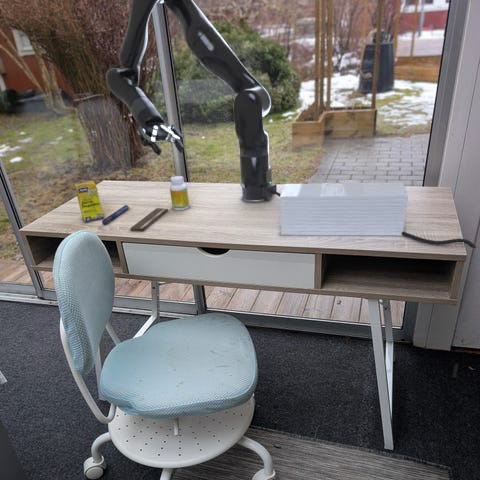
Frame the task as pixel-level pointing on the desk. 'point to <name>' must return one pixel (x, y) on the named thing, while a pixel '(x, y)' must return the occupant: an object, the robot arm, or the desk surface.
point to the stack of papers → (343, 209)
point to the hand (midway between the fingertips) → (171, 152)
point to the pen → (115, 215)
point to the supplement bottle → (179, 193)
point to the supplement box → (89, 201)
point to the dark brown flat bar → (149, 219)
